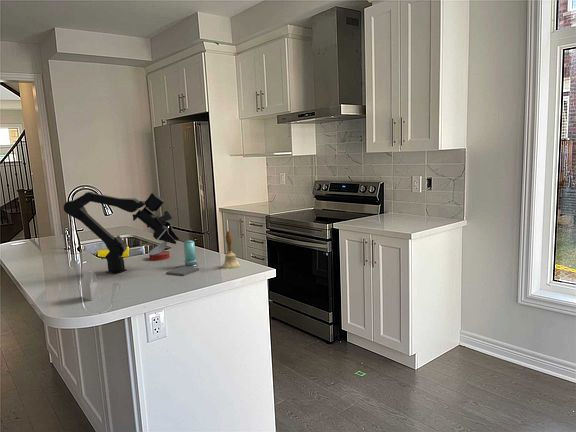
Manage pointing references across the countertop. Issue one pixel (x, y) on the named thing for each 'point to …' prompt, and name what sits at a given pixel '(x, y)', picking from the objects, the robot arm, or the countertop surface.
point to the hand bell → (230, 254)
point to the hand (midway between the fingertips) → (177, 241)
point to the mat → (182, 271)
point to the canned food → (159, 252)
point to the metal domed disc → (191, 264)
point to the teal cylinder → (189, 251)
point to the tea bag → (90, 286)
